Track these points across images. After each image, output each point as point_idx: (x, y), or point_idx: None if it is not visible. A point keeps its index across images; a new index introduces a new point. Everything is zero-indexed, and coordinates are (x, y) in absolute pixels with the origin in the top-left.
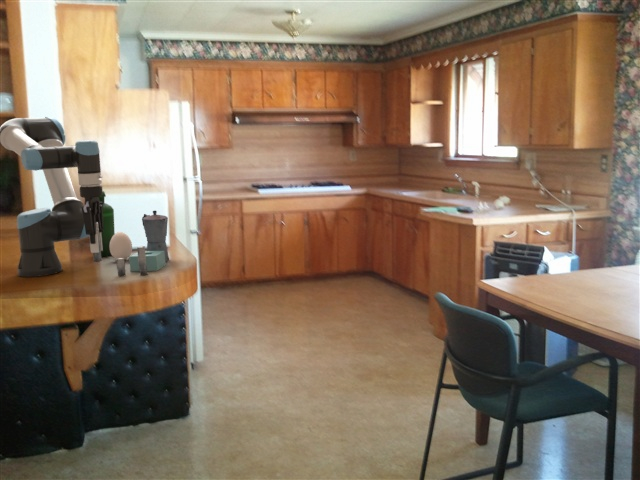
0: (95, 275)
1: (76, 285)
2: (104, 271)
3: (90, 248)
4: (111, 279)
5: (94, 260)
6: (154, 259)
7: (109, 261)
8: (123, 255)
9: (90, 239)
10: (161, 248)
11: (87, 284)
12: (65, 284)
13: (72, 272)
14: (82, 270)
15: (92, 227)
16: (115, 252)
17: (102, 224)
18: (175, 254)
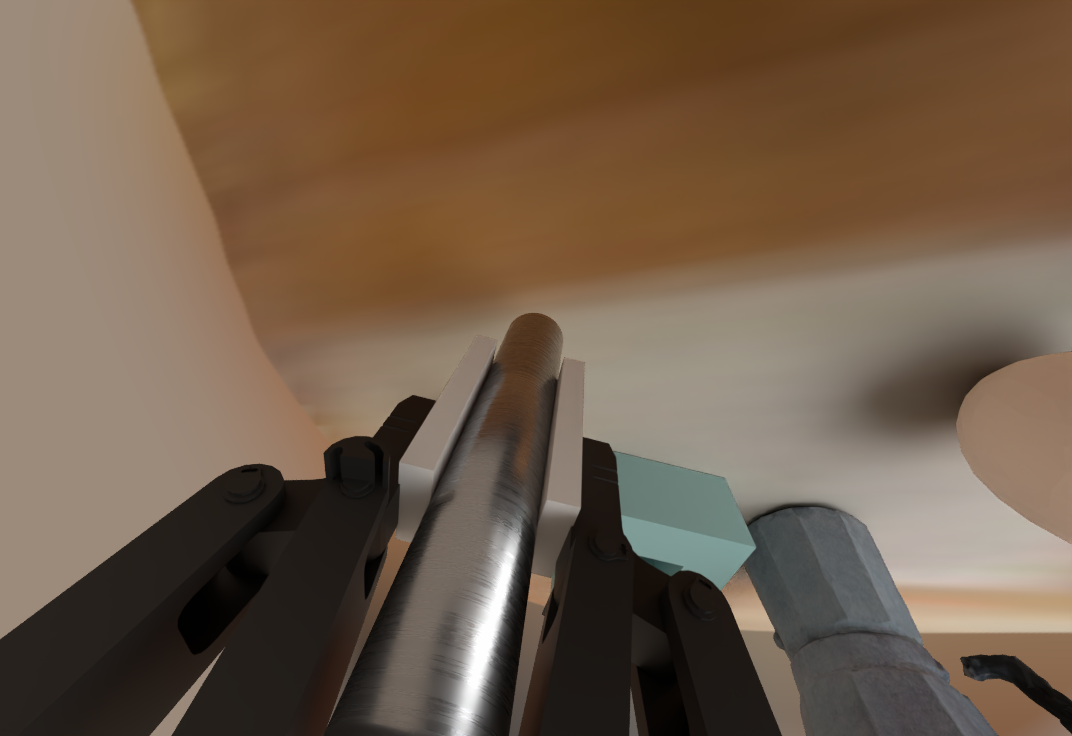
0: (555, 277)
1: (298, 205)
2: (659, 317)
3: (465, 354)
4: (422, 376)
5: (512, 324)
6: (554, 577)
7: (1045, 308)
8: (958, 429)
9: (379, 432)
10: (774, 627)
11: (320, 269)
12: (326, 113)
13: (762, 54)
14: (799, 140)
15: (188, 641)
16: (1010, 400)
17: (655, 725)
18: (918, 601)
